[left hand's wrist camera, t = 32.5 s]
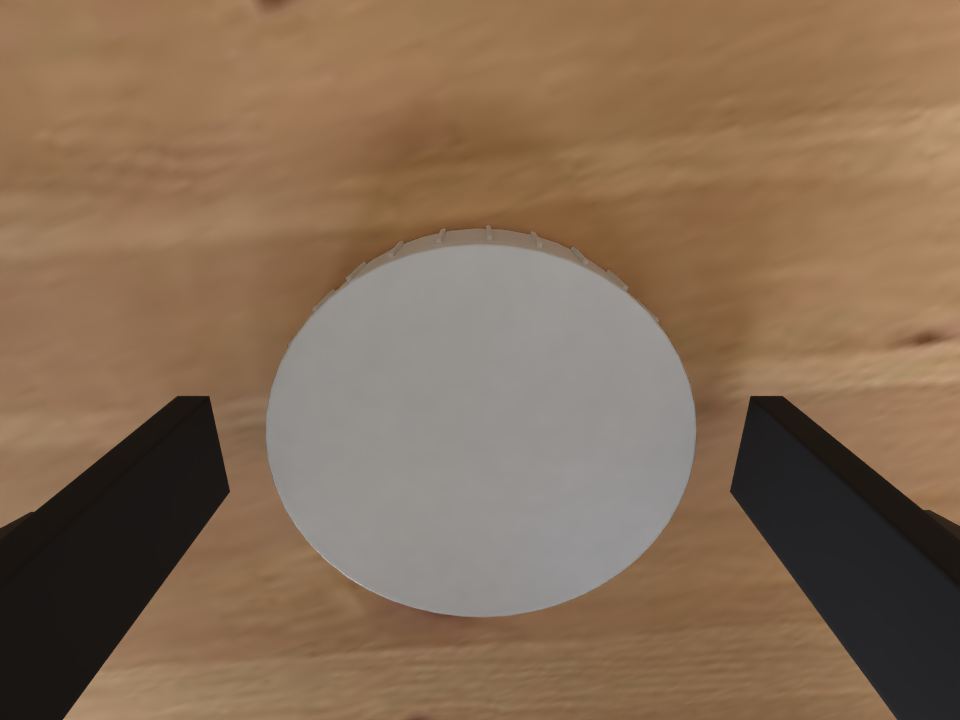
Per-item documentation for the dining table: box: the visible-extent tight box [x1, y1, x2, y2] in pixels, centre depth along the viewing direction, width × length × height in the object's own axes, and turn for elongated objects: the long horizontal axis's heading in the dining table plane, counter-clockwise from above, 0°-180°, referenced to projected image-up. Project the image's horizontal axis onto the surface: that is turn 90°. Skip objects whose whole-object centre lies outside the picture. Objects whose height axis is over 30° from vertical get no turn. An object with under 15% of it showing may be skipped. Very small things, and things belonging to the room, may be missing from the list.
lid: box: [266, 225, 697, 617], centre depth 13 cm, size 10×10×2 cm
